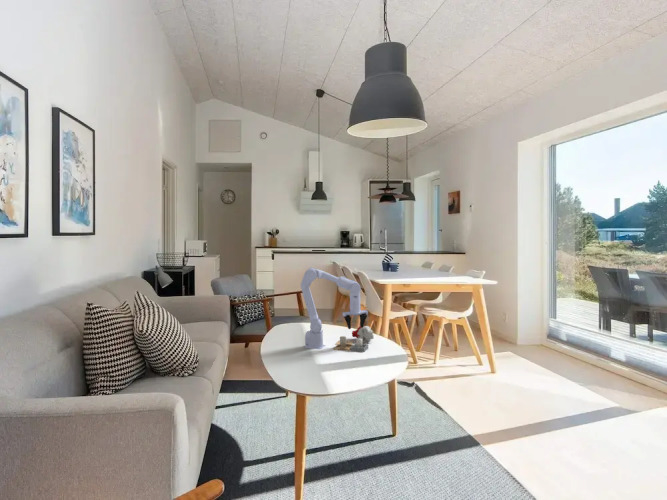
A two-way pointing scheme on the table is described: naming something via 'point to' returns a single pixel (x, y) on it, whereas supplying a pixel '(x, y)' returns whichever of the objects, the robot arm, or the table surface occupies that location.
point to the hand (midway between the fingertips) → (355, 328)
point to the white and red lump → (363, 333)
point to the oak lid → (346, 342)
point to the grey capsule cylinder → (342, 341)
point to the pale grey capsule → (359, 342)
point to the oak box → (347, 348)
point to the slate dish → (363, 349)
